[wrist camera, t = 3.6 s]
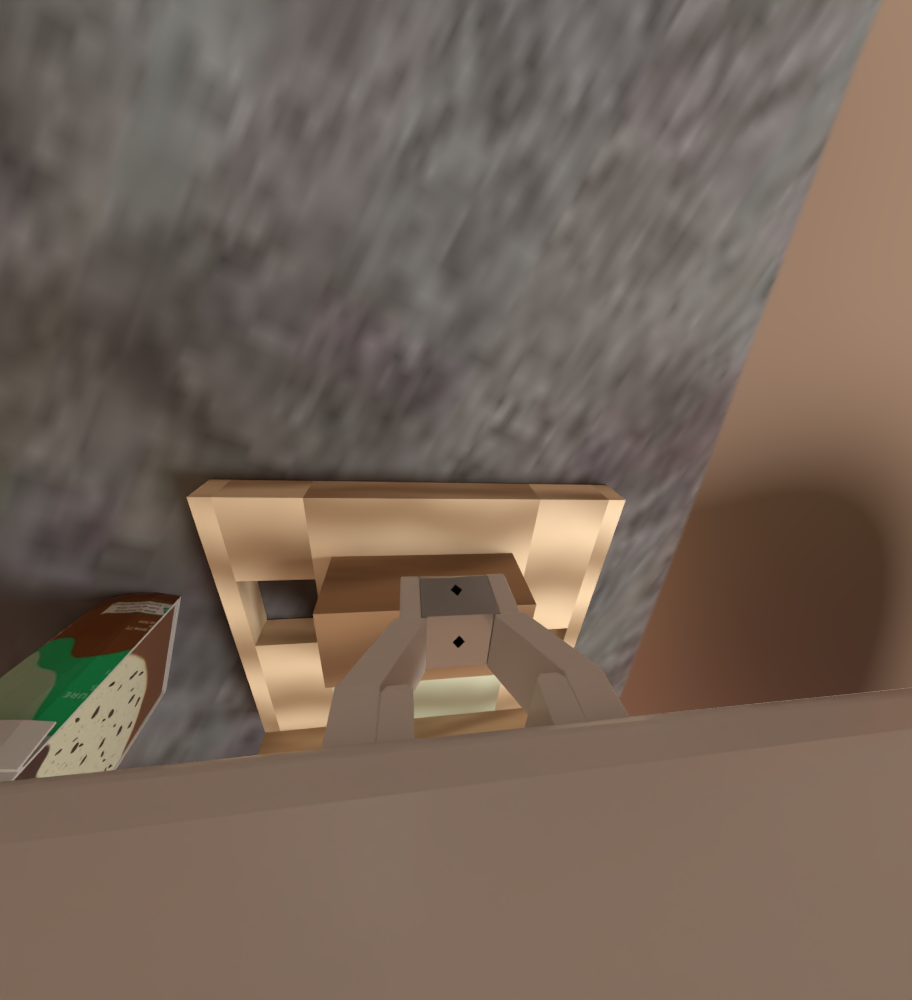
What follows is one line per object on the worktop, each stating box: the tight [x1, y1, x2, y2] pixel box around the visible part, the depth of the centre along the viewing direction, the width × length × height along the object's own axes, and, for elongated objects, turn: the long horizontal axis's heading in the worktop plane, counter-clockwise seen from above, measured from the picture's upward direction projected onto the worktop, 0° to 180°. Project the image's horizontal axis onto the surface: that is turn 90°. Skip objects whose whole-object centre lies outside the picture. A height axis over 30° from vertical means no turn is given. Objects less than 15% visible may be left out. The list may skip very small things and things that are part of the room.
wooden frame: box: [187, 479, 625, 755], centre depth 21 cm, size 20×22×5 cm
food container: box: [0, 593, 181, 782], centre depth 16 cm, size 12×6×10 cm, turn 155°
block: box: [313, 553, 537, 688], centre depth 18 cm, size 5×10×4 cm, turn 86°
